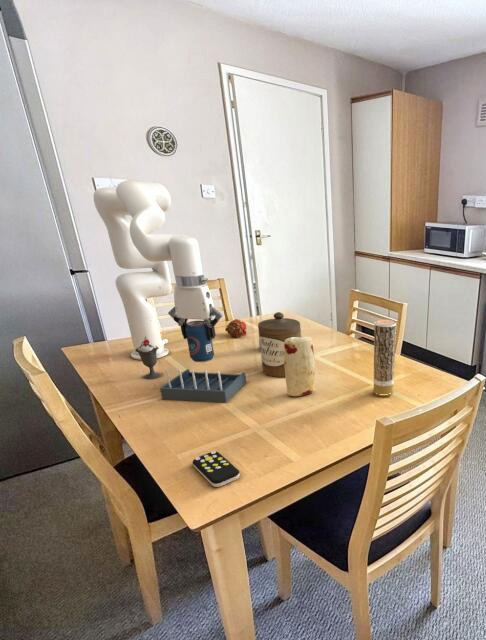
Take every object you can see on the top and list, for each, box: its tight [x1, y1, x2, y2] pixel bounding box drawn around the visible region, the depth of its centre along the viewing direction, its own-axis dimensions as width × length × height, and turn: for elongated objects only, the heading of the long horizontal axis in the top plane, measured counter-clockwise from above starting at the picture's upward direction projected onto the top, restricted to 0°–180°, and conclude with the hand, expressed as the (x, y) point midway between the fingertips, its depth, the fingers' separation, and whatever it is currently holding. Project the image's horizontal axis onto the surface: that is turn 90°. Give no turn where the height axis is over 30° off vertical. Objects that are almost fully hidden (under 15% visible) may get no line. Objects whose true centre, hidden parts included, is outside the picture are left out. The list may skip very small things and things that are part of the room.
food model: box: [284, 336, 316, 397], centre depth 132 cm, size 10×7×20 cm
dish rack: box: [159, 368, 247, 403], centre depth 133 cm, size 16×20×10 cm
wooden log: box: [373, 319, 397, 398], centre depth 135 cm, size 7×7×25 cm
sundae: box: [134, 336, 162, 380], centre depth 139 cm, size 7×7×15 cm
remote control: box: [192, 450, 241, 488], centre depth 95 cm, size 6×13×2 cm, turn 48°
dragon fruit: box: [225, 318, 247, 338], centre depth 186 cm, size 8×8×12 cm
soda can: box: [185, 320, 215, 363], centre depth 129 cm, size 7×7×12 cm
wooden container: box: [257, 311, 302, 378], centre depth 150 cm, size 15×15×22 cm
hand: (199, 337), depth 128 cm, fingers closed on soda can, 7 cm apart
